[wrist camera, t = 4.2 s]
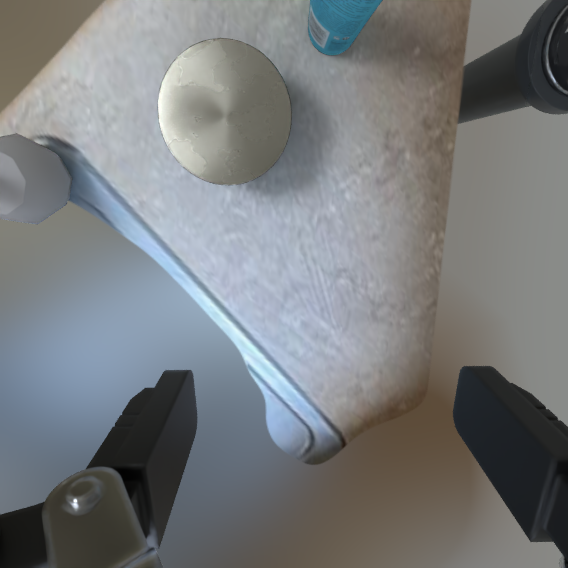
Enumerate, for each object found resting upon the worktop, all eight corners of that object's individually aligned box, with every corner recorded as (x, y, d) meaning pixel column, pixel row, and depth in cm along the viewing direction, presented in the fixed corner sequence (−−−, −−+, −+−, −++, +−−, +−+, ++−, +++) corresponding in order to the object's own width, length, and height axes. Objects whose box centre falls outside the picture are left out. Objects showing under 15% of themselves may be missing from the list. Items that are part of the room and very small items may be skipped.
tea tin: (289, 64, 36) (291, 36, 28) (290, 181, 39) (292, 184, 32) (176, 66, 36) (148, 38, 28) (187, 182, 39) (165, 186, 32)
